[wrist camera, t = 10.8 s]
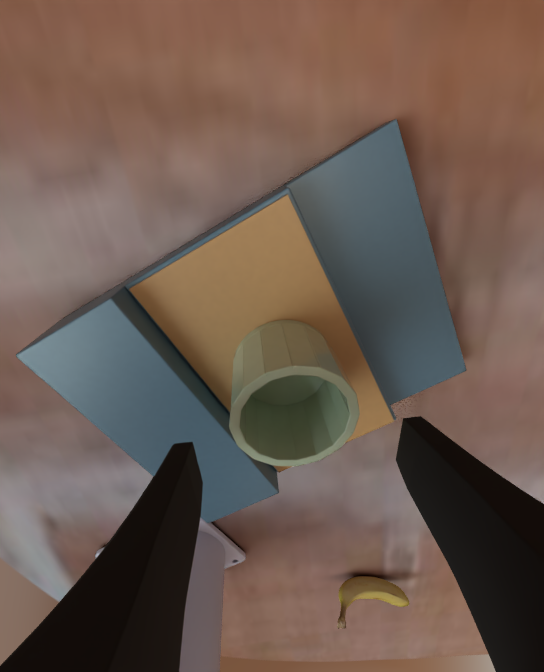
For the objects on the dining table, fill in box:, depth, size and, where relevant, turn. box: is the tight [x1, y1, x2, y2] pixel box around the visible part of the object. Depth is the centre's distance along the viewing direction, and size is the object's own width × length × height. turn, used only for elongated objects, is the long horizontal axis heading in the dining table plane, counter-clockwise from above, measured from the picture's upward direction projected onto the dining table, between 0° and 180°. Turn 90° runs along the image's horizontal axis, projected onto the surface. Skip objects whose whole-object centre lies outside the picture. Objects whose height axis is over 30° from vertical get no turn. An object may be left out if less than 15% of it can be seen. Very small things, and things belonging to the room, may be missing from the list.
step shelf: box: [16, 119, 466, 523], centre depth 16 cm, size 18×14×4 cm
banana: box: [337, 576, 409, 629], centre depth 29 cm, size 8×2×4 cm, turn 73°
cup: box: [229, 320, 360, 466], centre depth 14 cm, size 5×5×4 cm
